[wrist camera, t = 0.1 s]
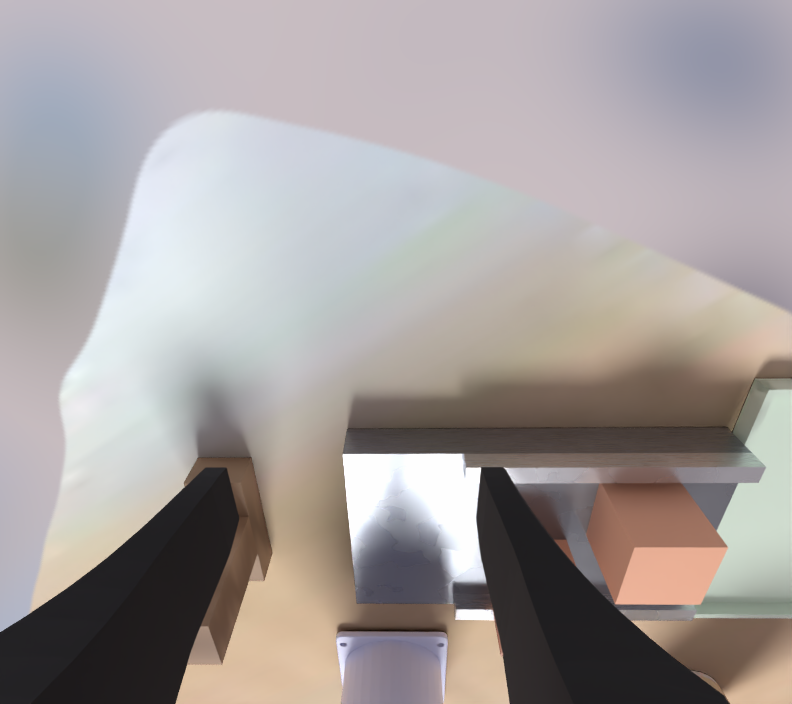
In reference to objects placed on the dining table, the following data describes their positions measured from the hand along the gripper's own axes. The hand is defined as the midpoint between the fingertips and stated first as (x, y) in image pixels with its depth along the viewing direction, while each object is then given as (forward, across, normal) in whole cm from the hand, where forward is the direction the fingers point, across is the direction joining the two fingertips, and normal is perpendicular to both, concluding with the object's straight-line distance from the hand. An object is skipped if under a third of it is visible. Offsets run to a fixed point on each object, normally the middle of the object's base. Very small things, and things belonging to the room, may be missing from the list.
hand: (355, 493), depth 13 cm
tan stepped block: (+10, +9, +12) cm, 18 cm away
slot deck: (+10, -8, +12) cm, 17 cm away
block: (+8, -13, +9) cm, 18 cm away
